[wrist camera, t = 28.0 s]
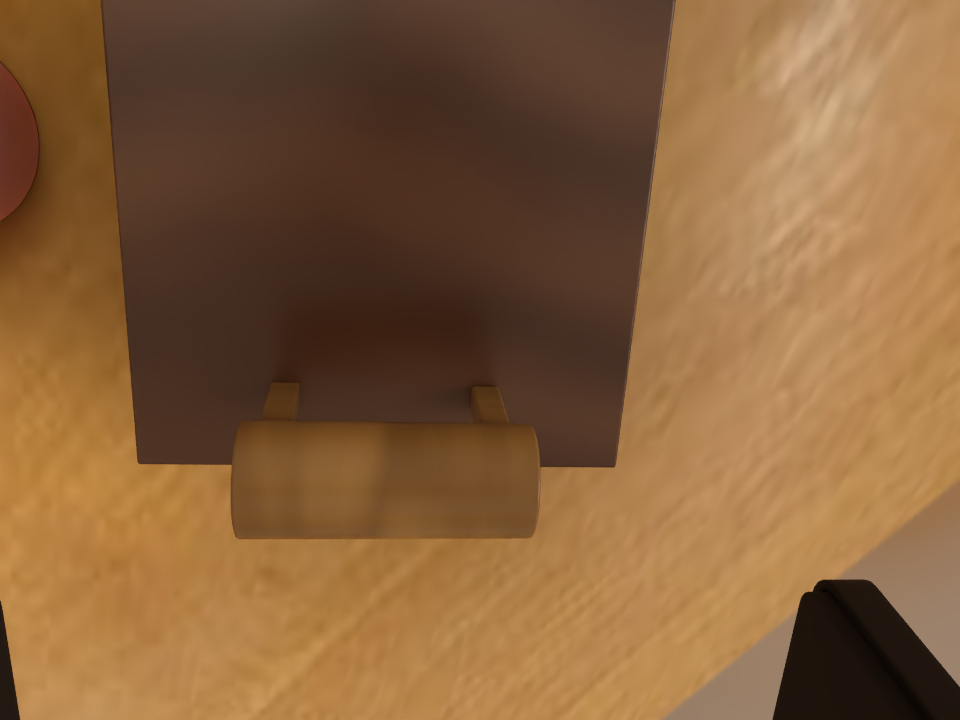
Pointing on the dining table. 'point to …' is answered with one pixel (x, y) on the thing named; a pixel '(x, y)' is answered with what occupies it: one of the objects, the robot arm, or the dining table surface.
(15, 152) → the pink cylinder
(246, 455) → the lid
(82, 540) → the dining table surface
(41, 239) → the dining table surface
